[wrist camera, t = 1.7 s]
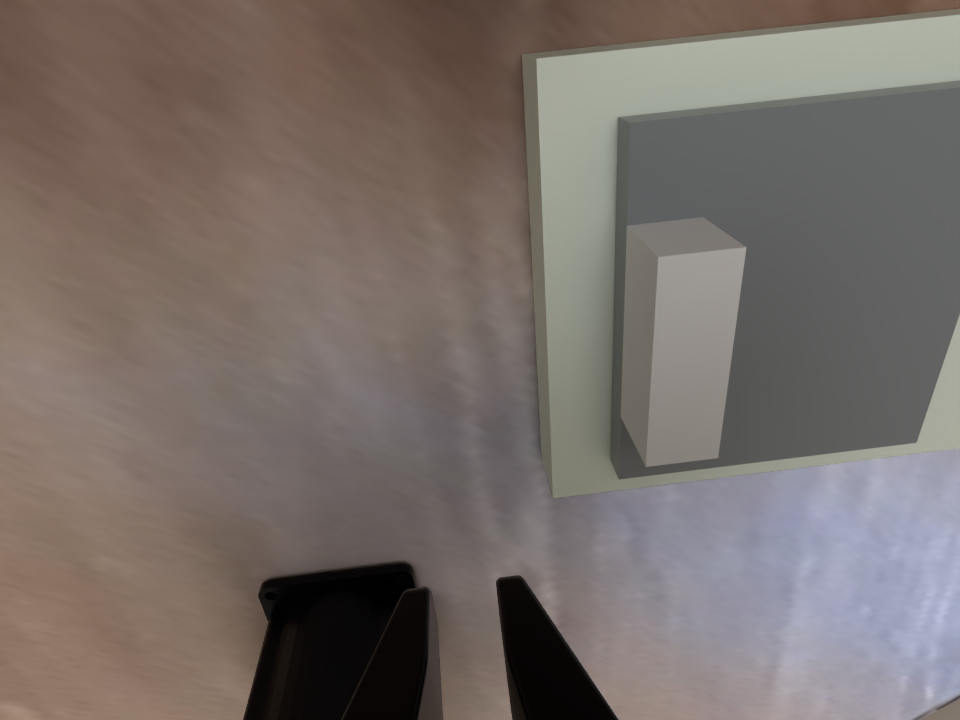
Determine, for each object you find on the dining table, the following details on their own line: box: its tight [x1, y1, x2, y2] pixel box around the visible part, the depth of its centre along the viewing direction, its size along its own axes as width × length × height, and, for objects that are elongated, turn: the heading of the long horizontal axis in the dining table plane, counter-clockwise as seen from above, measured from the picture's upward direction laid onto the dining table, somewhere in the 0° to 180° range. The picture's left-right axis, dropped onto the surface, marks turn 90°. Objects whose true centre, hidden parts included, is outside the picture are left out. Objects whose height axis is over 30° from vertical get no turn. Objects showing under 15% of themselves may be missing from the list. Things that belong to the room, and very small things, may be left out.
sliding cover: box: [610, 81, 960, 479], centre depth 17 cm, size 10×11×3 cm
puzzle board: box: [522, 9, 960, 499], centre depth 19 cm, size 20×14×2 cm
